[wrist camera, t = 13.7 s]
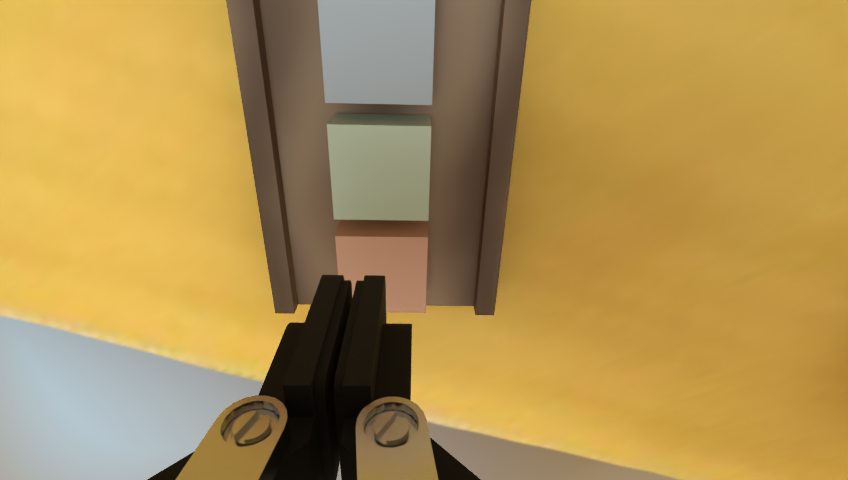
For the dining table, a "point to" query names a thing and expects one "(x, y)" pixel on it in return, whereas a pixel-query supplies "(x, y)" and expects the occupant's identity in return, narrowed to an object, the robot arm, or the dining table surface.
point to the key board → (449, 113)
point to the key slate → (377, 51)
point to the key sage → (380, 166)
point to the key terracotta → (386, 258)
